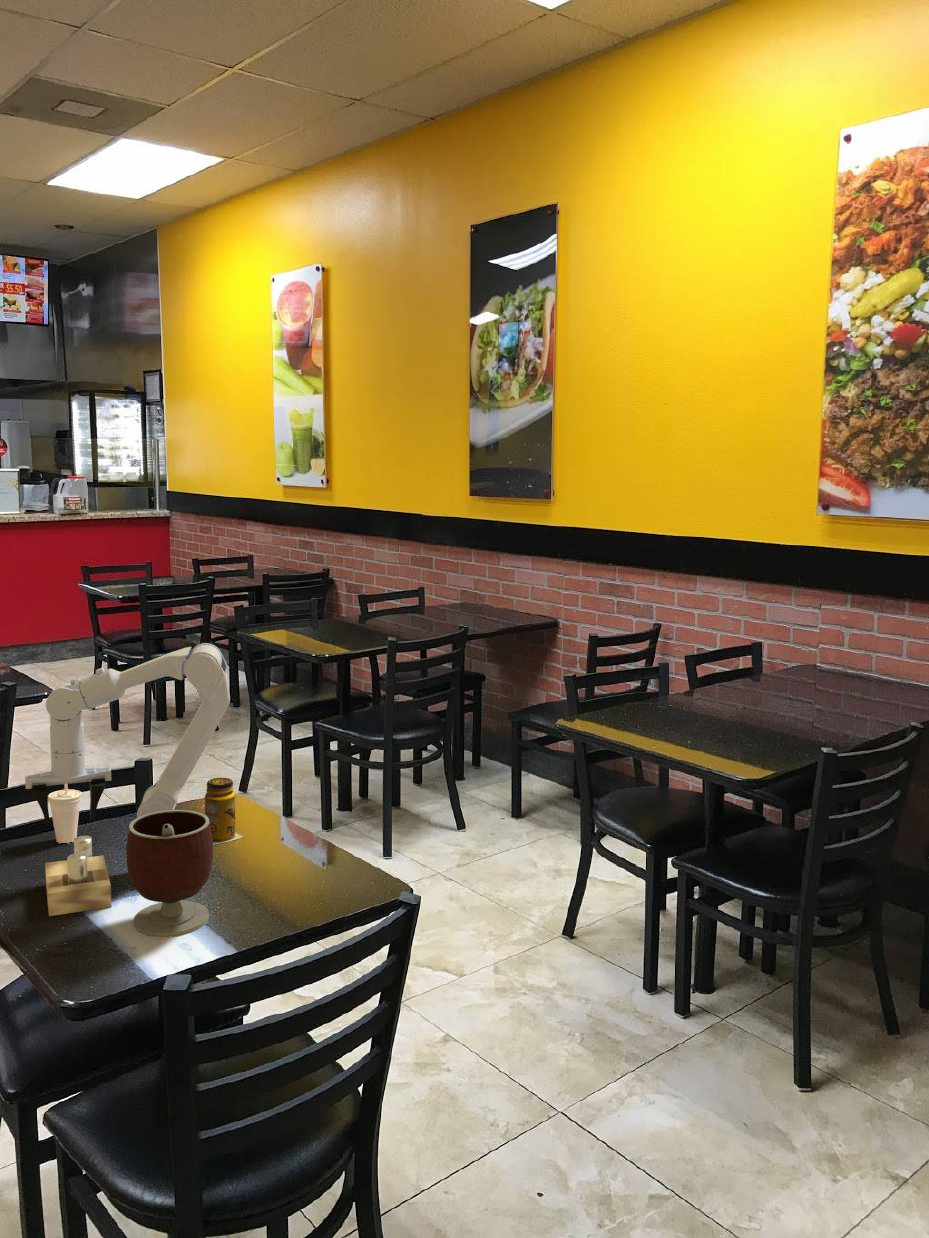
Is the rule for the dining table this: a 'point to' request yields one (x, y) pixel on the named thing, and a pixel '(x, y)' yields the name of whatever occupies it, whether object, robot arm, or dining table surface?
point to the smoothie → (65, 813)
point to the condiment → (221, 810)
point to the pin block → (77, 888)
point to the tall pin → (77, 868)
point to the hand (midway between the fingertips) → (70, 821)
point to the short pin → (83, 845)
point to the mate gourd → (170, 869)
